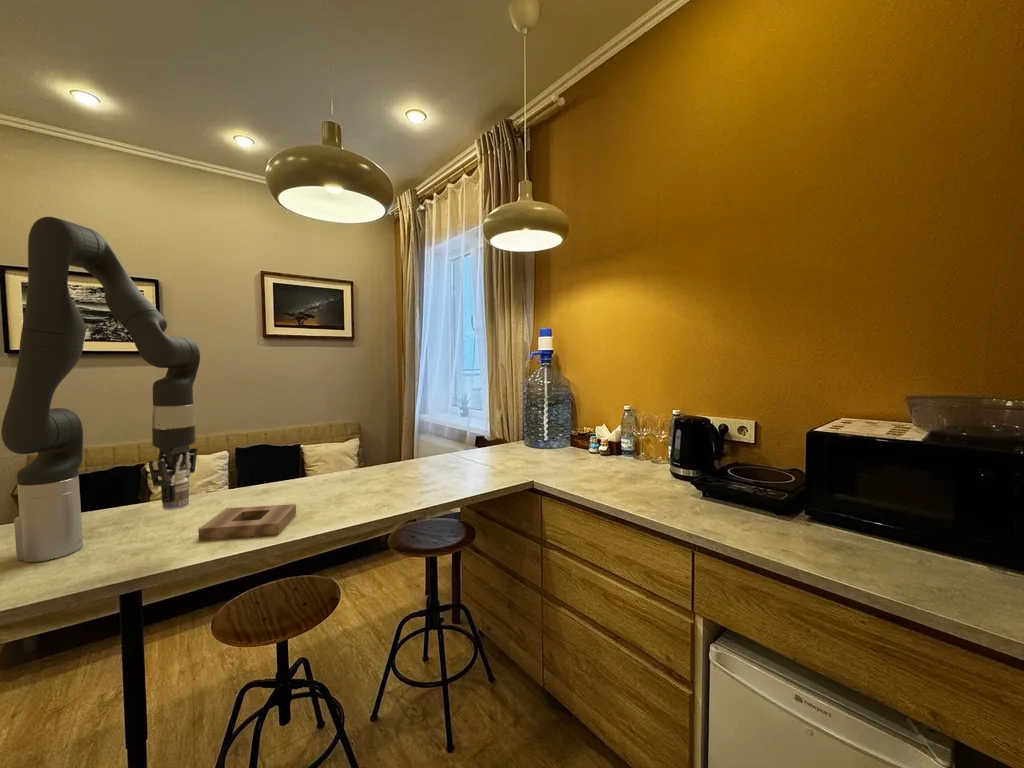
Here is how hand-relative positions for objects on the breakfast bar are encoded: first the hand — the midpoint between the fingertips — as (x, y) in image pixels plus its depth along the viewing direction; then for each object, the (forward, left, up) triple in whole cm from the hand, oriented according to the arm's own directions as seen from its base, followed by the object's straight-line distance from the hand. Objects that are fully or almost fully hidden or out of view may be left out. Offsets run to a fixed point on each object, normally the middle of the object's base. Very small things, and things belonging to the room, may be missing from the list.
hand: (175, 497), depth 93 cm
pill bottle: (0, 0, -2) cm, 2 cm away
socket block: (+10, +13, -13) cm, 21 cm away
